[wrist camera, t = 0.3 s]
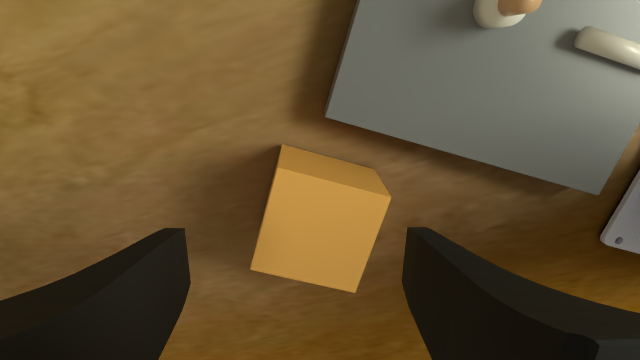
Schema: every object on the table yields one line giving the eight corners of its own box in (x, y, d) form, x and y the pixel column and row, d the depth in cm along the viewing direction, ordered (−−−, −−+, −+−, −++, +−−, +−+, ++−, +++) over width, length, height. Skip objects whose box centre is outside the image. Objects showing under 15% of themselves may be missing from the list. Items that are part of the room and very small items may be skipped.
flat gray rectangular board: (698, -32, 18) (818, -57, 14) (579, 186, 22) (645, 218, 18) (401, -152, 16) (437, -224, 12) (323, 112, 20) (329, 129, 16)
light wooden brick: (374, 169, 21) (391, 197, 17) (345, 249, 23) (355, 293, 19) (282, 144, 20) (277, 167, 16) (259, 229, 22) (250, 269, 18)
